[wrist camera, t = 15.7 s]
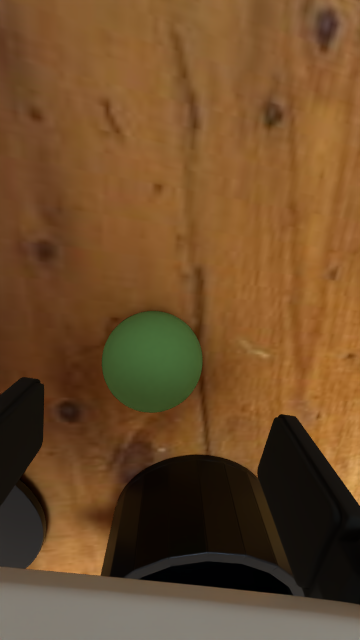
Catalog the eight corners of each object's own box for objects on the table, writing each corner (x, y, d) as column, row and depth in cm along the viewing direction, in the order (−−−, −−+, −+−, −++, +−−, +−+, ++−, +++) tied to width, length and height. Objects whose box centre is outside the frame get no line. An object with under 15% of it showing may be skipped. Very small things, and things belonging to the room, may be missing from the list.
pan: (91, 442, 20) (51, 540, 13) (317, 467, 22) (383, 566, 15) (81, 560, 24) (46, 680, 17) (272, 573, 26) (307, 688, 19)
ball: (119, 295, 17) (91, 320, 11) (204, 308, 17) (221, 340, 11) (111, 372, 18) (83, 430, 12) (189, 382, 19) (196, 443, 13)
